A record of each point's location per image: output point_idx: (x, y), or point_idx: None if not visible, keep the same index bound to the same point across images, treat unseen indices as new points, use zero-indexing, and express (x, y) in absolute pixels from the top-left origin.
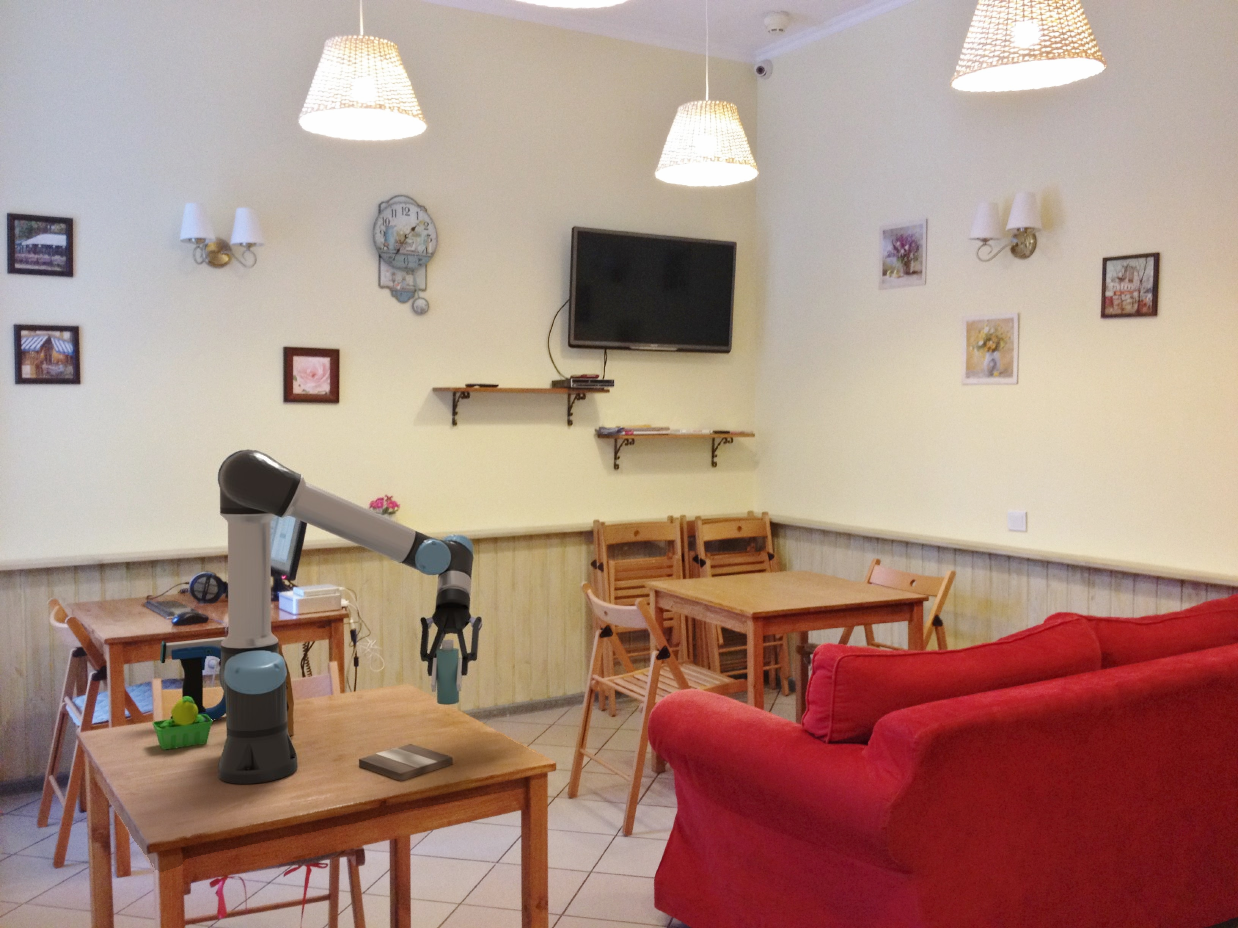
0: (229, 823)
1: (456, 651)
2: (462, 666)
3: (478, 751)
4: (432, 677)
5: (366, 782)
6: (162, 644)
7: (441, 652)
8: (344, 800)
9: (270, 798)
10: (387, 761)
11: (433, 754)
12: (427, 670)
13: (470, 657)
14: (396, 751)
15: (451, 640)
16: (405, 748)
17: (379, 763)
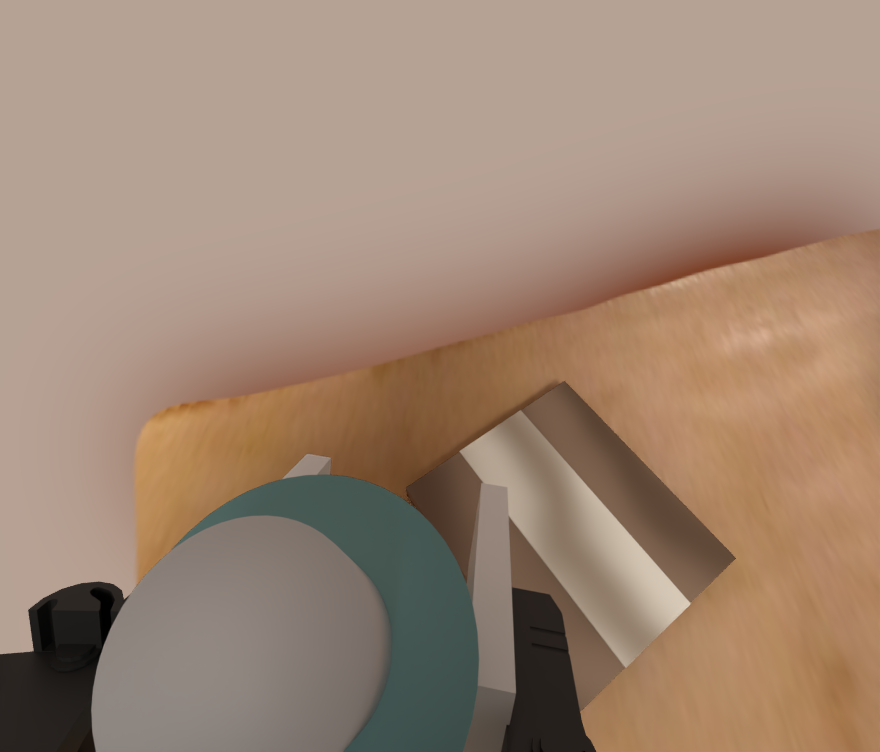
0: (874, 251)
1: (194, 530)
2: None
3: None
4: (501, 520)
5: (652, 404)
6: None
7: (412, 508)
8: (674, 305)
9: (869, 356)
10: (623, 500)
11: (468, 536)
12: (558, 611)
13: (29, 656)
14: (610, 608)
15: (135, 684)
16: (580, 652)
17: (646, 486)
